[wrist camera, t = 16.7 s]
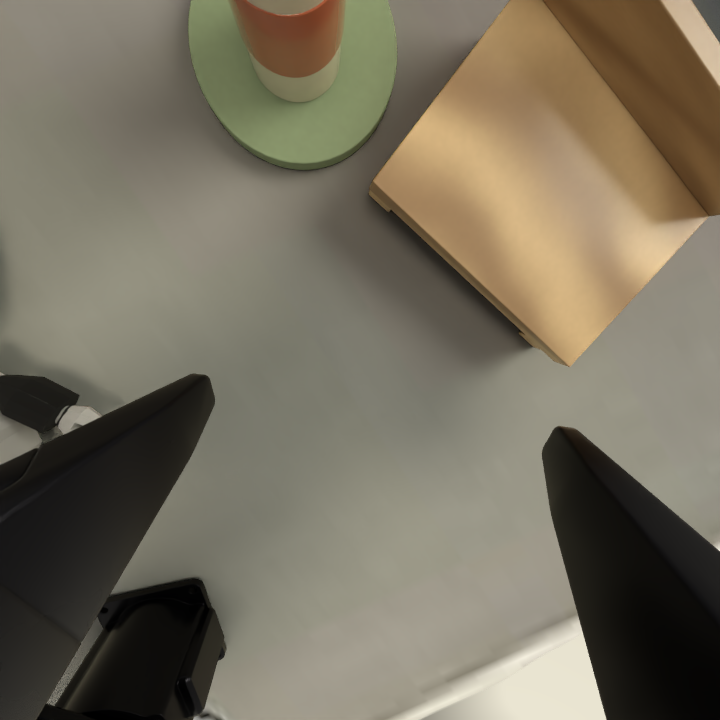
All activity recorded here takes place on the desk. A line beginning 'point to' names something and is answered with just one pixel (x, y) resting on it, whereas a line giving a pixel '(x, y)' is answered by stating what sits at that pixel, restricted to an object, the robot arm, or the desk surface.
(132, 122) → the desk surface
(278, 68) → the spice bottle
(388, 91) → the disc
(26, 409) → the robot toy
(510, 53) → the shelf
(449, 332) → the desk surface
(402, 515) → the desk surface
